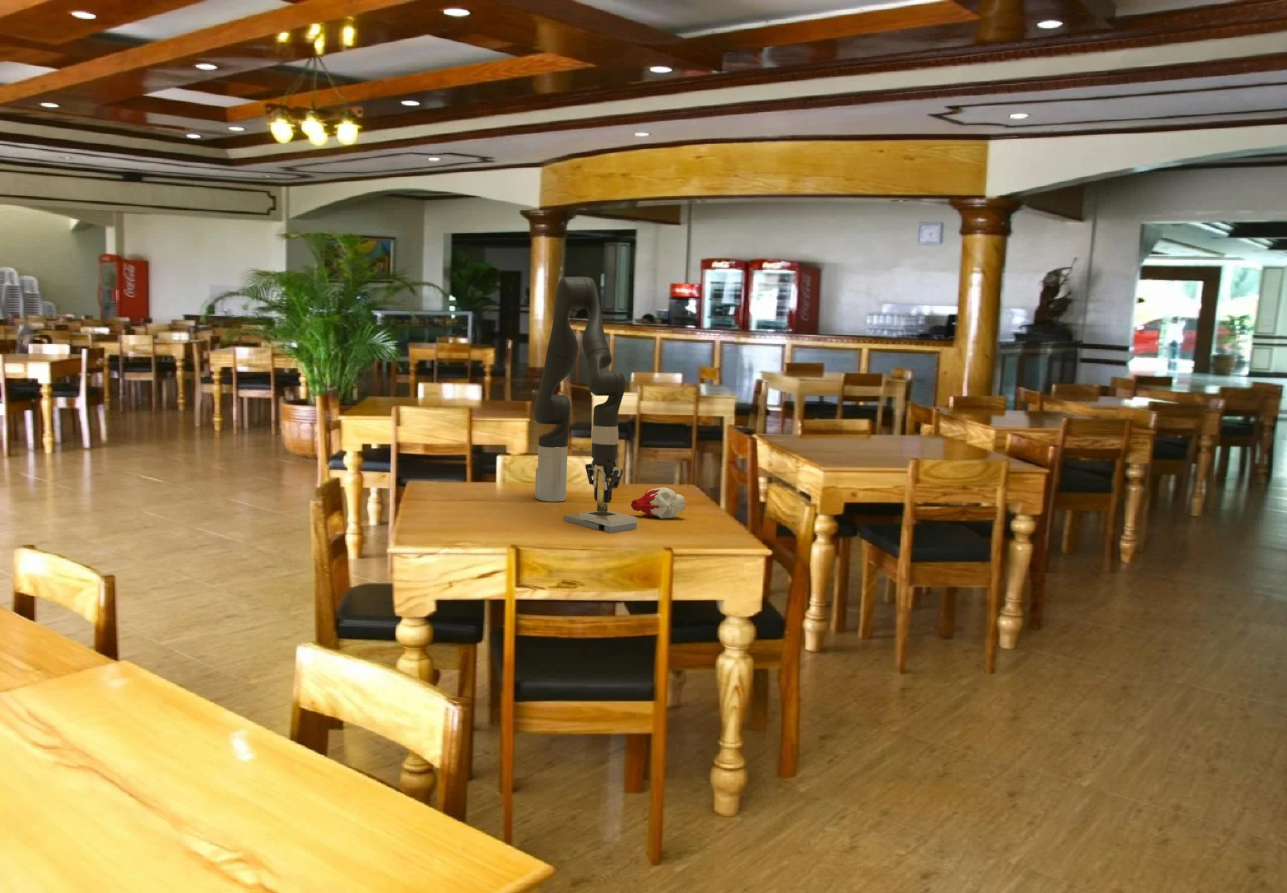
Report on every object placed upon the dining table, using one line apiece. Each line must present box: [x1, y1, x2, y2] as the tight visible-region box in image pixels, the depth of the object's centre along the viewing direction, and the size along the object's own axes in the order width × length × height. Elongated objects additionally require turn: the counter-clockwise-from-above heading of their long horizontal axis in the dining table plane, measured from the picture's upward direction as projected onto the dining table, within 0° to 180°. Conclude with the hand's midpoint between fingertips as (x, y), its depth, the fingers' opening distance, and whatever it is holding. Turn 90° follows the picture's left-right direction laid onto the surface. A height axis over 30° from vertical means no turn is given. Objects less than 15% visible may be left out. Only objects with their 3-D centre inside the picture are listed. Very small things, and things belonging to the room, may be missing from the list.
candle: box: [630, 487, 687, 519], centre depth 321 cm, size 9×11×15 cm
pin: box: [596, 465, 609, 512], centre depth 305 cm, size 4×4×13 cm
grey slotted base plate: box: [563, 509, 638, 534], centre depth 307 cm, size 20×10×3 cm, turn 45°
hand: (602, 501), depth 305 cm, fingers closed on pin, 3 cm apart
